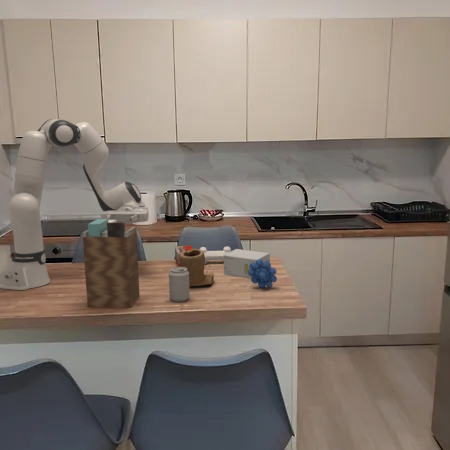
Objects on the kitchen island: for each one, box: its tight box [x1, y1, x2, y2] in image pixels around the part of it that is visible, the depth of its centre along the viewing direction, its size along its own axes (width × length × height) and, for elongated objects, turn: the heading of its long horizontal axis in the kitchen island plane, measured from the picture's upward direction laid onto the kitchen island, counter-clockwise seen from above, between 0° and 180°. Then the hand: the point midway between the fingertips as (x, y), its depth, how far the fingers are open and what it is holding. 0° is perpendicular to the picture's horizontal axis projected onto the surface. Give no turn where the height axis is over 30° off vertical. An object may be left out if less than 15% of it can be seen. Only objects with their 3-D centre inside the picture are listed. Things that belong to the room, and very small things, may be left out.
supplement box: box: [223, 248, 271, 280], centre depth 209 cm, size 17×13×9 cm
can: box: [168, 266, 191, 303], centre depth 176 cm, size 8×8×12 cm
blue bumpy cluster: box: [248, 259, 278, 289], centre depth 187 cm, size 12×7×12 cm, turn 85°
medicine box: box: [174, 245, 194, 267], centre depth 225 cm, size 15×8×8 cm, turn 12°
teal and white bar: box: [87, 218, 118, 237], centre depth 175 cm, size 4×20×4 cm, turn 175°
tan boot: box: [179, 248, 215, 287], centre depth 192 cm, size 15×12×15 cm
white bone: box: [199, 246, 232, 265], centre depth 227 cm, size 15×9×8 cm, turn 93°
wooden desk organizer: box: [82, 222, 140, 309], centre depth 173 cm, size 16×12×31 cm
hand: (119, 219), depth 195 cm, fingers open, 8 cm apart
